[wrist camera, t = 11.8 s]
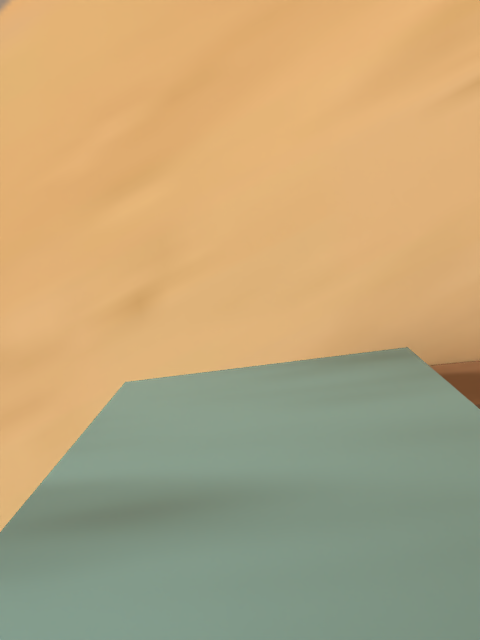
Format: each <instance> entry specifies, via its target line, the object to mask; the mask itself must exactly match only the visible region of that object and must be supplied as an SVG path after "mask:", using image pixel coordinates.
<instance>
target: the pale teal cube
mask: <svg viewBox="0 0 480 640" xmlns="http://www.w3.org/2000/svg"><path fill="white" fill-rule="evenodd" d="M0 640H480V409H479V408H478V407H477V406H475V405H474V404H473V403H472V402H471V401H470V400H468V399H467V398H466V397H465V396H464V395H463V394H461V393H460V392H459V391H458V390H457V389H456V388H454V387H453V386H452V385H451V384H450V383H449V382H447V381H446V380H445V379H444V378H443V377H442V376H440V375H439V374H438V373H437V372H436V371H434V370H433V369H432V368H431V367H430V366H429V365H427V364H426V363H425V362H424V361H423V360H422V359H420V358H419V357H418V356H417V355H416V354H415V353H413V352H412V351H411V350H410V349H409V348H408V347H406V348H398V349H390V350H382V351H374V352H366V353H358V354H350V355H341V356H333V357H325V358H317V359H309V360H301V361H293V362H285V363H277V364H268V365H260V366H252V367H244V368H236V369H228V370H220V371H212V372H204V373H195V374H187V375H179V376H171V377H163V378H155V379H147V380H139V381H131V382H125V383H124V384H123V385H122V387H121V388H120V389H119V390H118V391H117V393H116V394H115V395H114V396H113V397H112V399H111V400H110V401H109V402H108V404H107V405H106V406H105V407H104V408H103V410H102V411H101V412H100V413H99V414H98V416H97V417H96V418H95V419H94V420H93V422H92V423H91V424H90V425H89V426H88V428H87V429H86V430H85V431H84V432H83V434H82V435H81V436H80V437H79V438H78V440H77V441H76V442H75V443H74V444H73V446H72V447H71V448H70V449H69V450H68V452H67V453H66V454H65V455H64V456H63V458H62V459H61V460H60V461H59V462H58V464H57V465H56V466H55V467H54V468H53V470H52V471H51V472H50V473H49V474H48V476H47V477H46V478H45V479H44V480H43V482H42V483H41V484H40V485H39V486H38V488H37V489H36V490H35V491H34V492H33V494H32V495H31V496H30V497H29V498H28V500H27V501H26V502H25V503H24V504H23V506H22V507H21V508H20V509H19V510H18V512H17V513H16V514H15V515H14V516H13V518H12V519H11V520H10V521H9V522H8V524H7V525H6V526H5V527H4V528H3V530H2V531H1V532H0Z"/></svg>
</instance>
